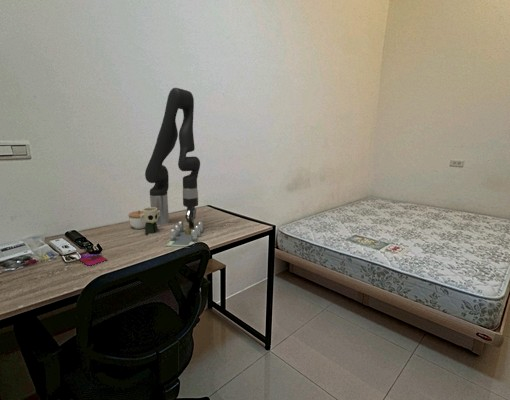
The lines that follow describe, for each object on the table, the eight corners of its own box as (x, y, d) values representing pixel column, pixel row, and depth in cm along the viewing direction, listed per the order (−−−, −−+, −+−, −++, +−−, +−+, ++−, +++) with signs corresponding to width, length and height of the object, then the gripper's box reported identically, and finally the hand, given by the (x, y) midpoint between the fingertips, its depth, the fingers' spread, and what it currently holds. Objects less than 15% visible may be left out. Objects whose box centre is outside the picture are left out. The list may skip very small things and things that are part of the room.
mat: (165, 248, 132) (165, 245, 132) (181, 230, 155) (181, 228, 155) (192, 249, 131) (191, 246, 131) (203, 231, 155) (203, 228, 154)
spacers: (169, 241, 138) (169, 229, 137) (179, 230, 152) (178, 220, 151) (196, 241, 138) (195, 230, 136) (203, 231, 152) (203, 221, 151)
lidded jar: (127, 226, 161) (125, 209, 159) (146, 223, 168) (145, 207, 165) (132, 231, 153) (131, 214, 151) (153, 228, 159) (152, 211, 157)
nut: (185, 235, 146) (184, 229, 145) (185, 232, 150) (185, 226, 149) (193, 235, 147) (193, 229, 146) (193, 232, 151) (193, 226, 150)
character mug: (145, 237, 145) (143, 212, 142) (138, 234, 149) (136, 209, 146) (164, 232, 153) (163, 208, 150) (157, 229, 157) (156, 205, 154)
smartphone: (88, 266, 113) (71, 255, 122) (88, 268, 113) (71, 257, 122) (108, 259, 119) (90, 249, 128) (108, 261, 119) (91, 251, 128)
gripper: (186, 193, 155) (187, 224, 159) (179, 199, 142) (180, 233, 146) (200, 193, 155) (201, 225, 159) (194, 199, 142) (195, 233, 146)
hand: (191, 229), depth 152 cm, fingers closed
